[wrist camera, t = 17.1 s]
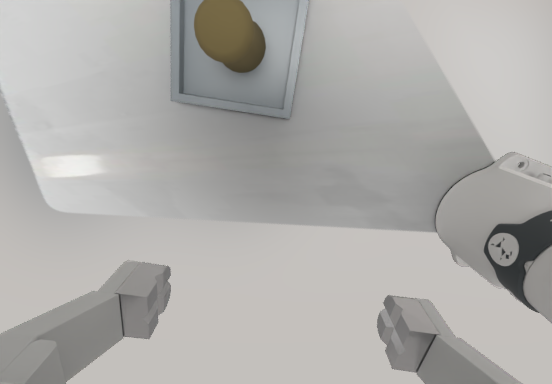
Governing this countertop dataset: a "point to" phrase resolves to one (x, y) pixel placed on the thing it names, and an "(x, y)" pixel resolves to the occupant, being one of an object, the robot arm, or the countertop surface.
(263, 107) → the slate grey tray
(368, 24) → the countertop surface
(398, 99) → the countertop surface
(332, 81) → the countertop surface
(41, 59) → the countertop surface
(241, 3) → the cork
